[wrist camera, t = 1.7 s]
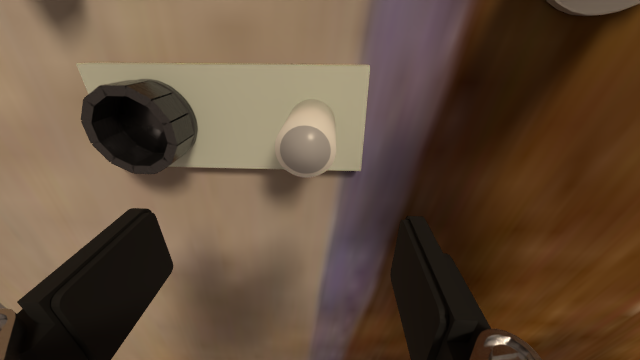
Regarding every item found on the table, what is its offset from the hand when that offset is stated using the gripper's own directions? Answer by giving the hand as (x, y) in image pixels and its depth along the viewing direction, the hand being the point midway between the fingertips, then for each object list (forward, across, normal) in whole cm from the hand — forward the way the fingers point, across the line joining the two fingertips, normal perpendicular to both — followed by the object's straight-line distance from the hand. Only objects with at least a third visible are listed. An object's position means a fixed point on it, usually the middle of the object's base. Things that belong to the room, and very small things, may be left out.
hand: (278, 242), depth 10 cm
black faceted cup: (+17, +15, 0) cm, 22 cm away
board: (+18, +8, 0) cm, 20 cm away
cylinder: (+16, 0, 0) cm, 17 cm away
